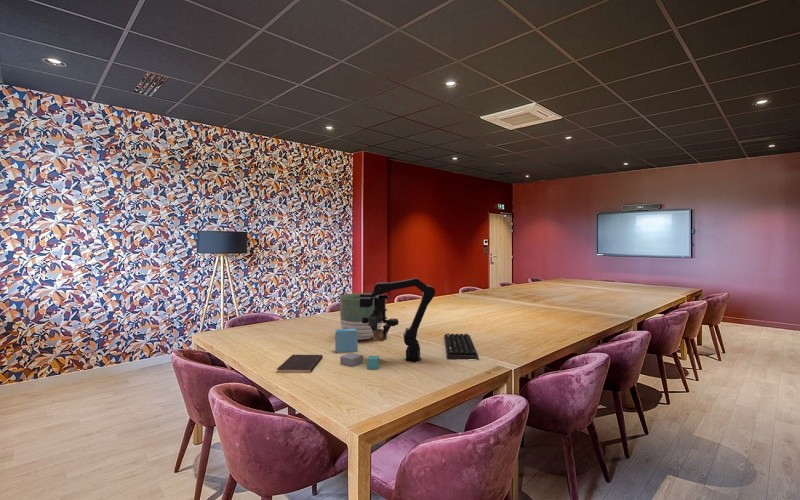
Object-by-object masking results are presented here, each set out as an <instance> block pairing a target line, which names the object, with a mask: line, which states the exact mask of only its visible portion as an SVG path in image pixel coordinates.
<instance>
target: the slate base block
mask: <svg viewBox="0 0 800 500" xmlns="http://www.w3.org/2000/svg"><path fill="white" fill-rule="evenodd" d="M339 361H340V363H339V364H340V365H343V366H347V367H352V368H354V367H356V366H359V365H361V364H363V363H364V355H363V354H359V353H355V352H348V354H347V353H346V354H344V355H341V356H340V358H339Z"/></svg>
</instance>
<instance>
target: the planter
mask: <svg viewBox="0 0 800 500" xmlns="http://www.w3.org/2000/svg"><path fill="white" fill-rule="evenodd" d="M371 293H372V292H358V293H357V292H355V293H346V294H342V295H341V294H340V296H339V313H340V314H339V315H340V316H339V319H340V326H341V327H340V328H341V329H356V330H357V333H358V341H363V340H369V339H373V331H372V329H371V327H370V326H369V325H367V324H368V323H362V318H363V317H366V316H370V315H371V314H372V313H373V310H374V299H373V305H372V306H371V307H360V294H371ZM375 297H379V295H377V296H375ZM382 324H383V323H378V324H377V329H382V326H383V325H382Z"/></svg>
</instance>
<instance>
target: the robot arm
mask: <svg viewBox="0 0 800 500" xmlns="http://www.w3.org/2000/svg"><path fill="white" fill-rule="evenodd" d="M411 287H415V288H416V289H418V290H419V291H421V292H422V294H421V299H420V303H419V305H418V307H417V310H416V312H415V315H414V318H413V320H412V322H411V325H410V326H409V328H408V327H405V331H404V333H403V341H404V344H405V346H407V347H406V349H405V359H404V360H405V361H407V362H408V361H409V362H414V363H417V362H419V361H420V360H422V357H421V346H420V342H419V340H418V339H417V337H418V335H417V334H418V330H419V328H420V325H421V322H422V320H423V318H424V315H425V313H426V310H427V308H428V306H429V304H430V303H431V302H432V301H433V299H434V297H435V295H436V289H435V288H434V287H433V286H432V285H429V284H428V285H427V284H426V283H424V282H422V281H421V280H420V279H419V278H417V277H413V278H409V279H404V280H398V281H393V282H388V281H387V282H386V281H385V282H383V281H382V282H381V281H379V282H377V283H375V284H374V288H373V291H372V292H370V293H371V294H360V307H371V306H372V305H373V299H374V310H373V313H372V314H371V315H370V316H366V317H363V318H362V323H368V324H367V325H369V326H370V327H371V329H372V331H374V330H376V329H377V324H378V323H382V324H384V325H382V329H384V339H385V338H386V336H387V335H388V333H389V330H390V329H391V327H395V326H398V325H399V319H398V318H389V319H388V316H386V315H387V314H386V312H387V311H388V308H386V300H389V299H390V296H389V295H388V294H387V293H389V292H391V291H395V290H400V289H405V288H411ZM377 295H379V297H375V296H377ZM387 337H388V336H387Z"/></svg>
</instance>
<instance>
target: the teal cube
mask: <svg viewBox="0 0 800 500" xmlns="http://www.w3.org/2000/svg"><path fill="white" fill-rule="evenodd" d="M379 368H380V356H379V355H368V356H367V359H366V369H367V370H378V369H379Z"/></svg>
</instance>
